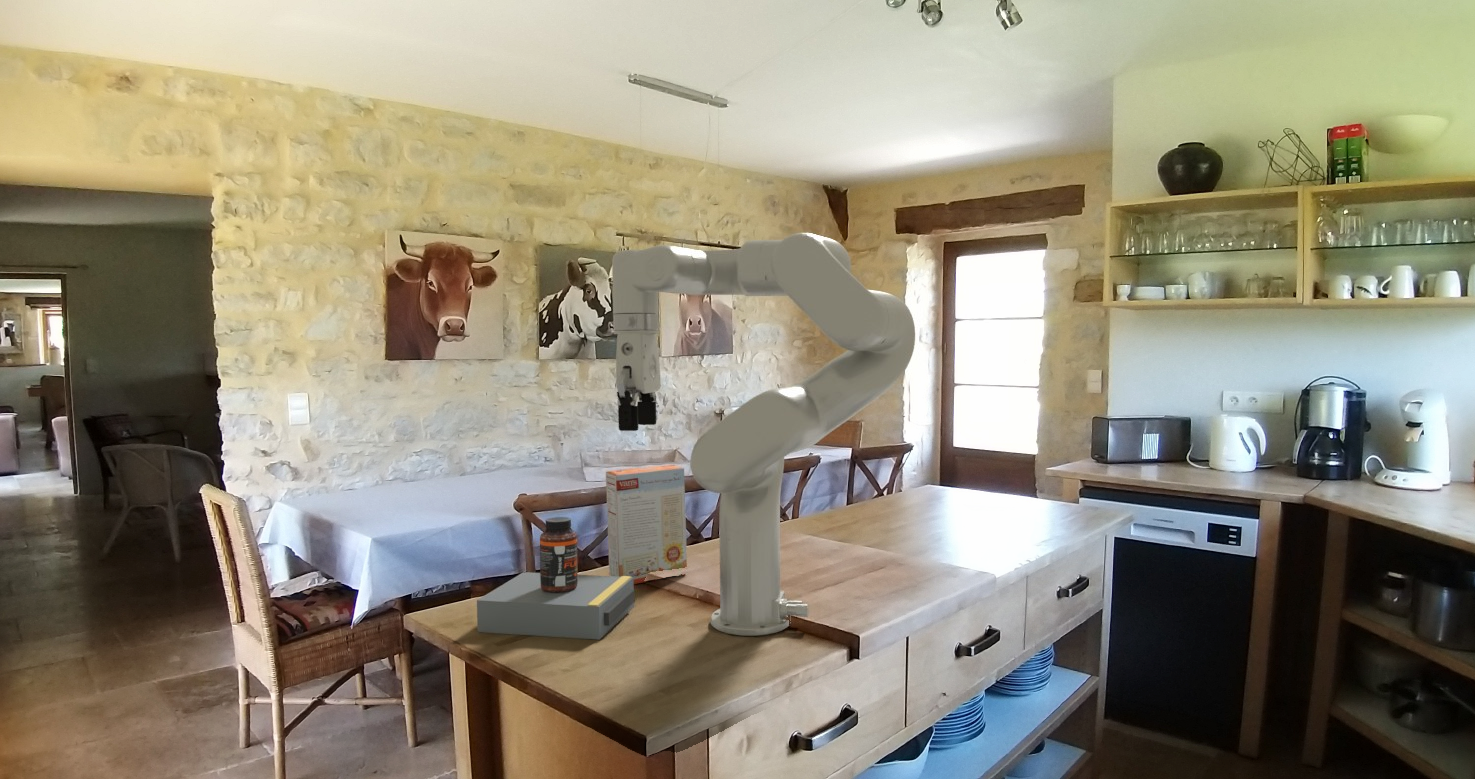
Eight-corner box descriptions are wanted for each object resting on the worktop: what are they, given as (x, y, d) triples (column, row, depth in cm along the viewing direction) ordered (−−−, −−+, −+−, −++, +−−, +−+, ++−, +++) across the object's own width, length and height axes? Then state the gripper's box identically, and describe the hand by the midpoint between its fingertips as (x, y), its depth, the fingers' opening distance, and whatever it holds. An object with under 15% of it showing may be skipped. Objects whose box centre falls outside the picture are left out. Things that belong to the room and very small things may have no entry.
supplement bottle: (570, 594, 131) (568, 523, 131) (534, 592, 132) (532, 522, 132) (583, 583, 137) (581, 515, 137) (549, 582, 138) (547, 514, 138)
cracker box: (674, 568, 164) (672, 463, 163) (688, 576, 159) (686, 467, 158) (607, 579, 157) (604, 469, 156) (619, 587, 152) (616, 473, 151)
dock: (638, 606, 141) (637, 576, 140) (604, 639, 125) (603, 605, 125) (524, 600, 145) (523, 570, 145) (477, 631, 129) (476, 598, 129)
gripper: (641, 323, 130) (643, 433, 131) (672, 325, 147) (673, 422, 148) (595, 324, 131) (598, 432, 132) (631, 326, 148) (633, 422, 149)
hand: (638, 427), depth 140 cm, fingers open, 9 cm apart
